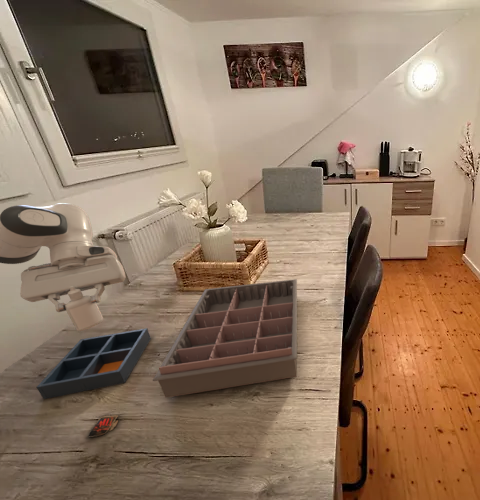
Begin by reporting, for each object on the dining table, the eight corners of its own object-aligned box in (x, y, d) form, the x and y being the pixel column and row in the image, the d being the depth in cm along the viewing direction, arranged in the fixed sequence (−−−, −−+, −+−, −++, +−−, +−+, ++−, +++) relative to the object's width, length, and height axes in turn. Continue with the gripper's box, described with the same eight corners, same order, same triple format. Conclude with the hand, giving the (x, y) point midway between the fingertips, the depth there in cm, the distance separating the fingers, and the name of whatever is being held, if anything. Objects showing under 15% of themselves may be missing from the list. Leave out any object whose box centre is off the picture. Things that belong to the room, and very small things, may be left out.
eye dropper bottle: (101, 326, 75) (83, 287, 70) (74, 333, 73) (53, 293, 68) (105, 317, 78) (88, 280, 74) (79, 324, 76) (60, 285, 71)
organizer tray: (299, 297, 107) (296, 274, 103) (300, 382, 70) (296, 352, 66) (210, 307, 102) (203, 284, 98) (162, 405, 66) (148, 374, 62)
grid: (43, 399, 68) (35, 387, 67) (86, 349, 84) (80, 339, 82) (125, 383, 72) (119, 371, 70) (151, 338, 88) (147, 328, 86)
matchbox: (86, 440, 58) (85, 438, 58) (97, 418, 63) (96, 416, 63) (113, 432, 60) (112, 430, 60) (122, 411, 64) (121, 410, 64)
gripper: (12, 264, 69) (14, 317, 65) (115, 245, 78) (123, 291, 74) (28, 273, 74) (31, 322, 70) (123, 254, 83) (131, 297, 79)
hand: (79, 306), depth 72 cm, fingers closed on eye dropper bottle, 5 cm apart
